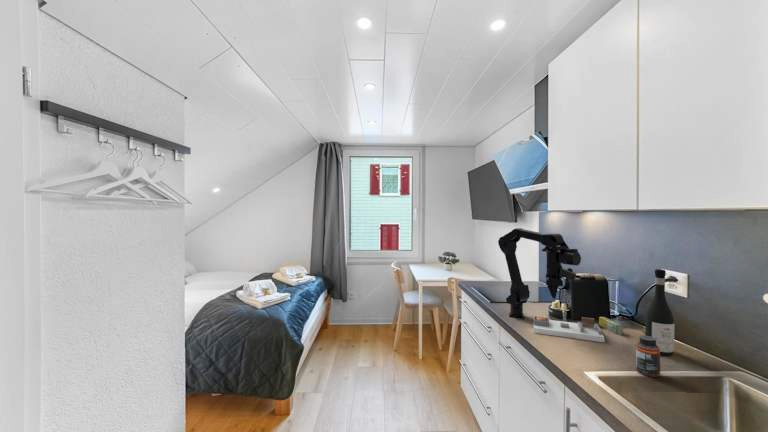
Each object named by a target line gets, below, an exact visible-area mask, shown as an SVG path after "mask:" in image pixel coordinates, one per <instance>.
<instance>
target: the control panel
mask: <svg viewBox="0 0 768 432" xmlns="http://www.w3.org/2000/svg"><path fill="white" fill-rule="evenodd" d="M536 317H537V316H533V333H534V334H540V335H541V334H542V335H548V336H556V337H563V338H569V339H576V340H584V341H585V340H586V341H592V342H600V343H605V336H604V334H603V331H602V328H600V327H601V326H600V325H599V323H595V328H592V327H583V326H582V321H577V322H569V321H563V320H554V319H552V320H551V319H549V317H545V318H546V321H538V320H536Z"/></svg>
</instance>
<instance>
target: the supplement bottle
mask: <svg viewBox="0 0 768 432" xmlns="http://www.w3.org/2000/svg"><path fill="white" fill-rule="evenodd" d="M635 368H636V372H638V373H639V374H641V375H643V376H646V377H650V378H651V377H652V378H657V377H659V376H660V375H661V355H660V348H659V347H658V346H657V345H656V339H655V338H653V337H650V336H645V335H640V336H639V341H638V342H636V344H635Z"/></svg>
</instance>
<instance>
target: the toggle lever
mask: <svg viewBox="0 0 768 432" xmlns="http://www.w3.org/2000/svg"><path fill="white" fill-rule="evenodd" d="M567 314H568V313H567V311H565V310H563V311H561V315H562V321H563V322H567Z"/></svg>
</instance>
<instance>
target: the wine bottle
mask: <svg viewBox="0 0 768 432" xmlns="http://www.w3.org/2000/svg"><path fill="white" fill-rule="evenodd" d="M666 272H667V271H666V270H665V269H660V268H657V269H654V276H655V278H654V282H655V284H654V287H655V289H654V290H655V291H654V297H653V300H652V302H651V303H650V305H649V307H648V308H647V311H646V315H645V323H644V325H645V328H644V329H645V330H644V331H645V332H644V334H645V335H644V336H650V337H653V338H655V339H656V345H657V346H658V347H659V348H660V356H671V355H674V353H675V319H674V315H673V313H672V310H671V308H670V306H669V304H668V301H667V299H666V291H665V289H666V275H667V274H666Z"/></svg>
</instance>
